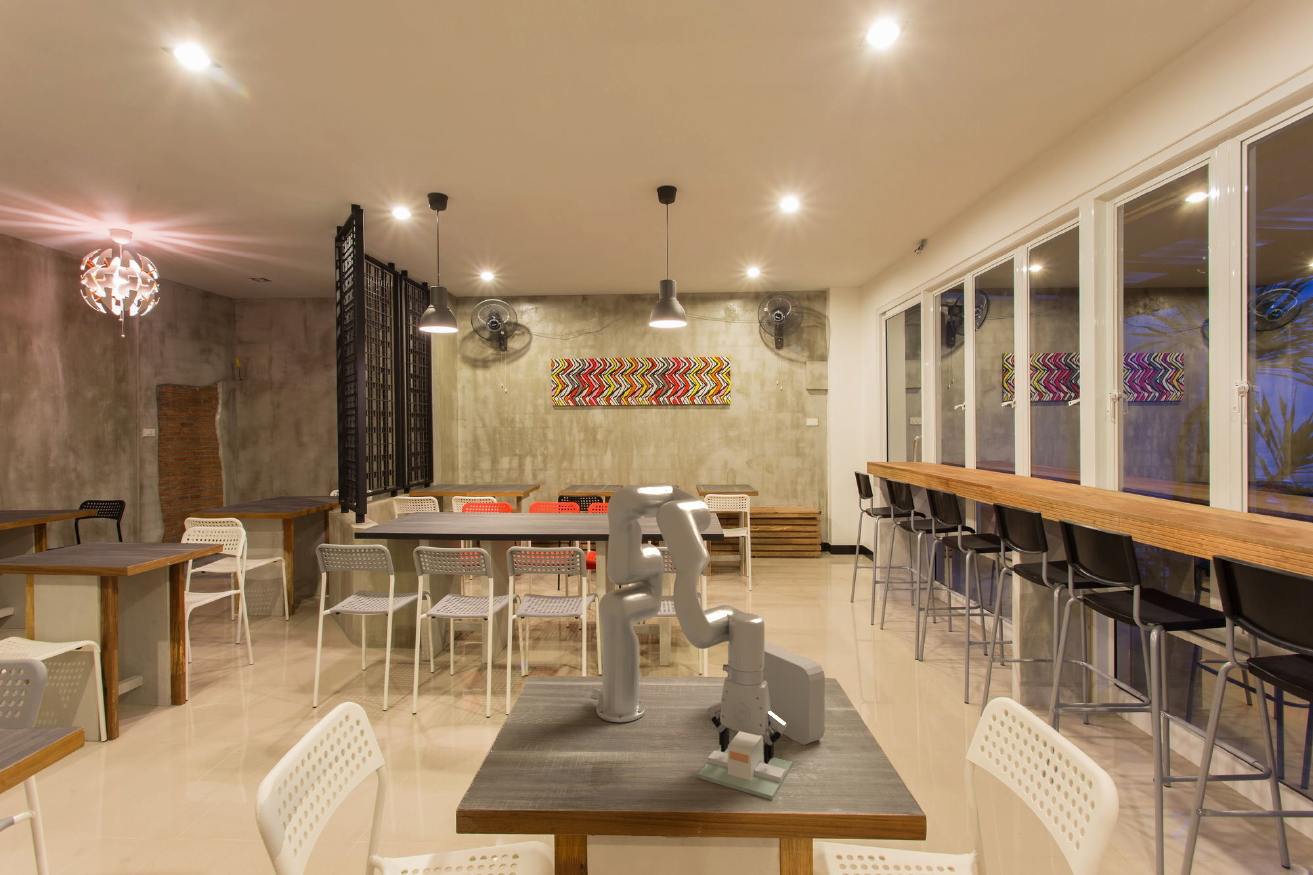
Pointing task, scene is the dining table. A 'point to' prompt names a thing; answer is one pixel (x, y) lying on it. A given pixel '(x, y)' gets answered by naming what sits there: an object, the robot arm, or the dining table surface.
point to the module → (744, 755)
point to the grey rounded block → (795, 693)
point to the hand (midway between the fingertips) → (746, 754)
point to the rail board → (761, 784)
